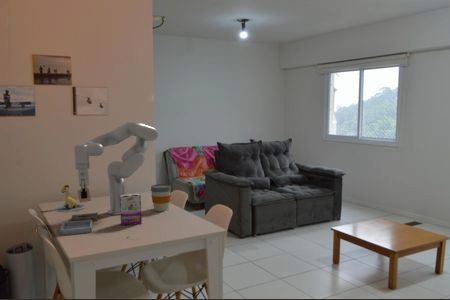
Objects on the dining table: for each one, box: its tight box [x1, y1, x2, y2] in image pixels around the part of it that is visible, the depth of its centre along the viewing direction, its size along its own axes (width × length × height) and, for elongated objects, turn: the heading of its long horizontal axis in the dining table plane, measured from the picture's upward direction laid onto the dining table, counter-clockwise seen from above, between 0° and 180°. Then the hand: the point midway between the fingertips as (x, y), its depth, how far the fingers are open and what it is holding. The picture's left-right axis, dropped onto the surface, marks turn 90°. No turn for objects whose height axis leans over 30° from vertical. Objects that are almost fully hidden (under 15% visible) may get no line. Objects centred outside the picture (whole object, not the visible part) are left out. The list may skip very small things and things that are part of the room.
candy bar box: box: [120, 192, 143, 226], centre depth 210 cm, size 11×5×16 cm, turn 105°
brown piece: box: [70, 212, 99, 222], centre depth 218 cm, size 14×10×2 cm
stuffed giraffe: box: [49, 184, 85, 213], centre depth 242 cm, size 16×18×16 cm
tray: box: [59, 220, 94, 236], centre depth 200 cm, size 15×15×2 cm
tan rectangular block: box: [77, 187, 92, 204], centre depth 217 cm, size 6×3×7 cm, turn 108°
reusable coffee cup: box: [150, 183, 172, 212], centre depth 239 cm, size 13×13×15 cm
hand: (84, 197), depth 217 cm, fingers closed on tan rectangular block, 2 cm apart
